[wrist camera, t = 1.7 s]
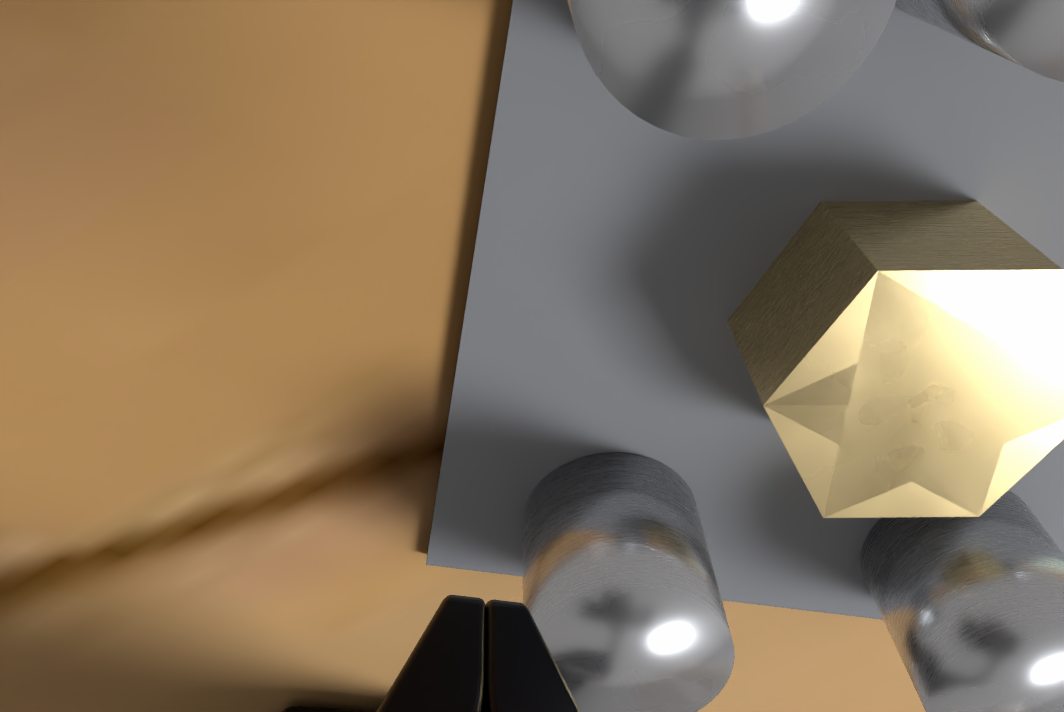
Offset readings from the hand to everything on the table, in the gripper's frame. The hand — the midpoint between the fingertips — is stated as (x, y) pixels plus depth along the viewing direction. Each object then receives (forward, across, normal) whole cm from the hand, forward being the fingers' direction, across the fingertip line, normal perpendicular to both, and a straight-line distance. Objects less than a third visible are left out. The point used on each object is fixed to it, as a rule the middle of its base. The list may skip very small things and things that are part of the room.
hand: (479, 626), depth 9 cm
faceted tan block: (+9, -8, 0) cm, 12 cm away
